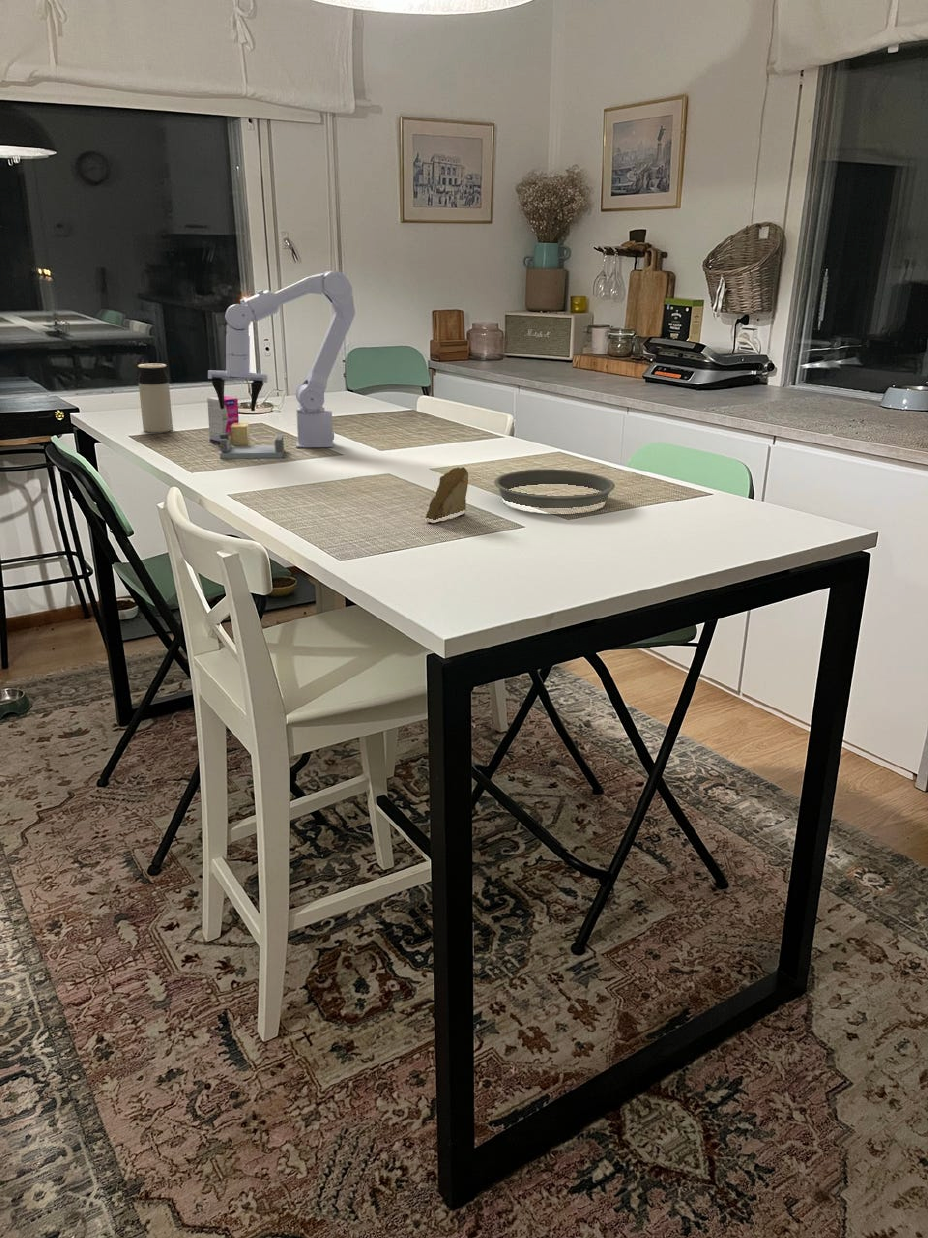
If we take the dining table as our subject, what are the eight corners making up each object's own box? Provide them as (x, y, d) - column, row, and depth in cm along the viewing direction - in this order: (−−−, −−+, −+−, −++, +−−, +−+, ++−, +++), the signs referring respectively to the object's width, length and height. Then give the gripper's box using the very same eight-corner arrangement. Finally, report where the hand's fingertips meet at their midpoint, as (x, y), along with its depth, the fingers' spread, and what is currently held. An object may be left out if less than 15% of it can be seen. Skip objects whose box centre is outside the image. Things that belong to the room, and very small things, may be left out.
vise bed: (284, 449, 245) (283, 433, 244) (282, 457, 236) (281, 440, 234) (224, 450, 243) (222, 433, 242) (220, 458, 234) (218, 441, 232)
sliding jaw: (231, 444, 242) (230, 430, 241) (228, 451, 234) (227, 436, 233) (223, 444, 242) (222, 430, 241) (219, 451, 234) (218, 437, 232)
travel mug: (179, 430, 270) (173, 364, 264) (157, 433, 264) (150, 366, 257) (160, 427, 274) (153, 362, 268) (137, 430, 268) (130, 364, 261)
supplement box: (223, 444, 251) (220, 399, 247) (209, 441, 254) (205, 397, 250) (240, 441, 255) (237, 397, 251) (226, 438, 259) (223, 395, 255)
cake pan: (474, 494, 203) (475, 473, 201) (575, 485, 212) (577, 465, 211) (526, 523, 182) (527, 499, 180) (636, 511, 191) (638, 489, 190)
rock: (434, 517, 175) (482, 504, 179) (418, 475, 177) (465, 463, 180) (419, 538, 185) (464, 526, 189) (403, 499, 186) (449, 487, 190)
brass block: (250, 445, 250) (248, 422, 248) (248, 450, 244) (246, 426, 242) (234, 446, 249) (232, 422, 247) (232, 450, 244) (230, 426, 242)
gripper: (205, 353, 234) (205, 409, 239) (265, 358, 236) (264, 413, 240) (210, 351, 241) (210, 405, 246) (268, 355, 242) (268, 409, 247)
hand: (237, 409), depth 243 cm, fingers open, 7 cm apart
